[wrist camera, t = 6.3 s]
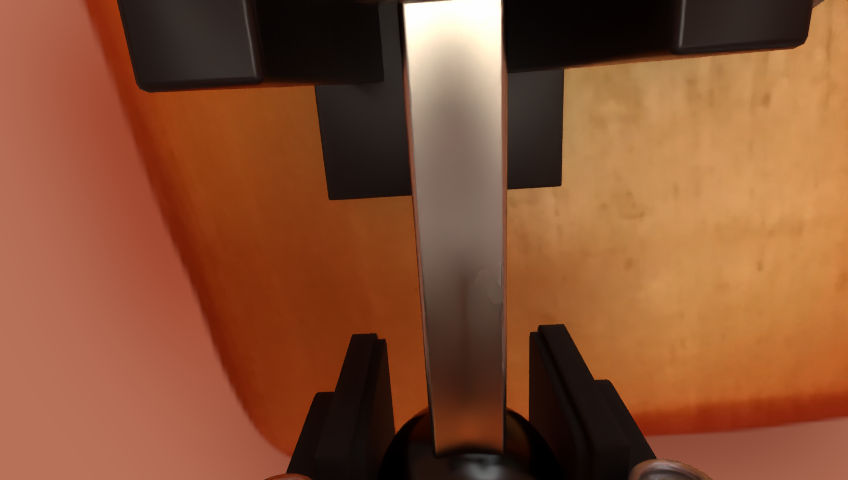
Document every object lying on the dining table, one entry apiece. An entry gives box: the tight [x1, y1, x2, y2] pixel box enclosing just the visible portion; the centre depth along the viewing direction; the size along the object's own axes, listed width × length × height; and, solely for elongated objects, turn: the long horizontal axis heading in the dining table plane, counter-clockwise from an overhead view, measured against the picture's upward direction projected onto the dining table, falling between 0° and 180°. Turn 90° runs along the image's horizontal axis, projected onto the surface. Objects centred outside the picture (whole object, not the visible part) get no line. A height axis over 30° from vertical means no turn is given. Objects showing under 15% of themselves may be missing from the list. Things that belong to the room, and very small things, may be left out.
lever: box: [352, 0, 564, 480], centre depth 7 cm, size 12×3×3 cm, turn 4°
